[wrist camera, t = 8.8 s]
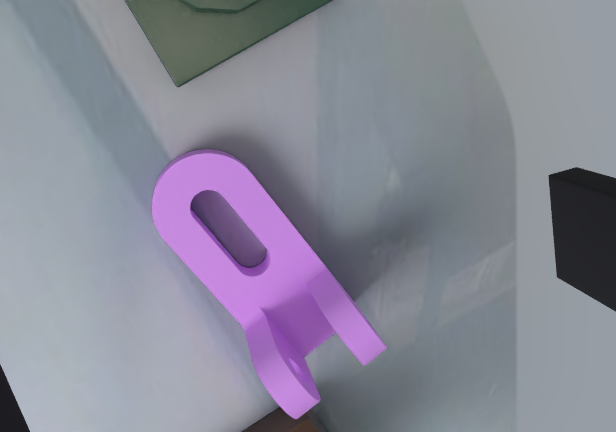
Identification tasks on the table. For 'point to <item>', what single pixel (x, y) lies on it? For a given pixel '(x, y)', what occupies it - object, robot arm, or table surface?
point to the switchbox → (211, 29)
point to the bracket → (261, 276)
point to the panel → (287, 423)
